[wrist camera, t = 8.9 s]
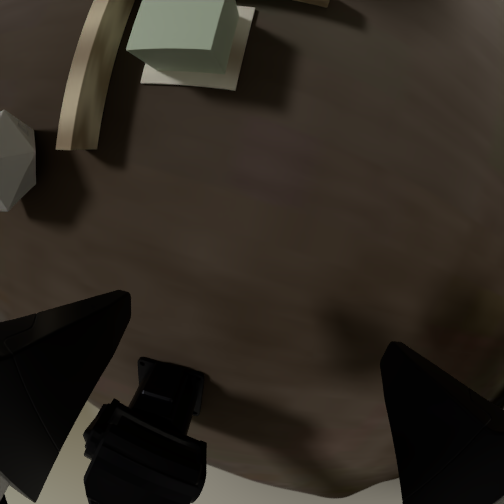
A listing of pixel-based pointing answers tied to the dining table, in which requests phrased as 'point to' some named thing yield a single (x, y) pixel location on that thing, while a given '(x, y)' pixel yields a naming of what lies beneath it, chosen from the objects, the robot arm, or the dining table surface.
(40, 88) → the dining table surface
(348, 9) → the dining table surface
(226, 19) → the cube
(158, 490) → the robot arm
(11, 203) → the die
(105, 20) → the wooden corner guide
